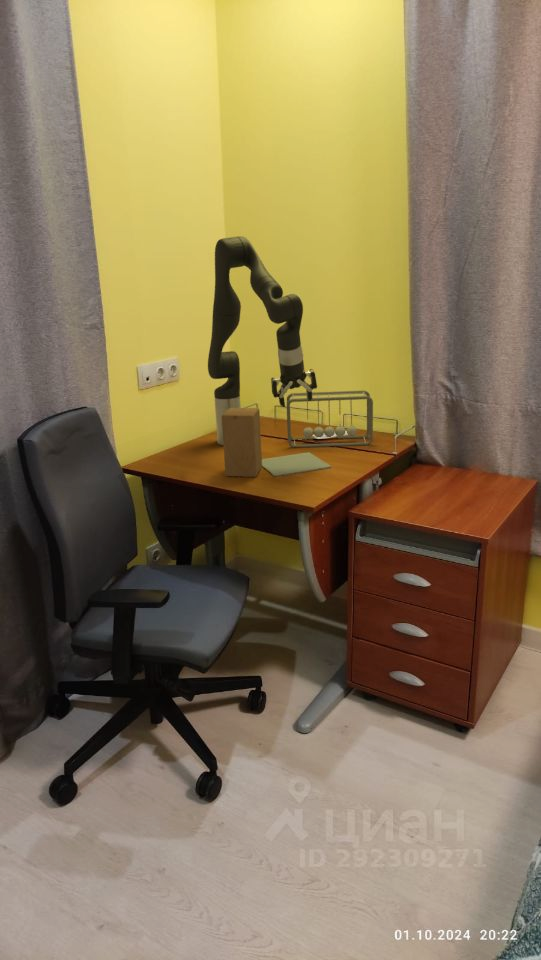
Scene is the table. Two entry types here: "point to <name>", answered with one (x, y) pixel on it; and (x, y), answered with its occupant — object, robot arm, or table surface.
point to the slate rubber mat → (293, 464)
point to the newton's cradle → (329, 430)
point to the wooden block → (242, 442)
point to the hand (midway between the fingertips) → (296, 403)
